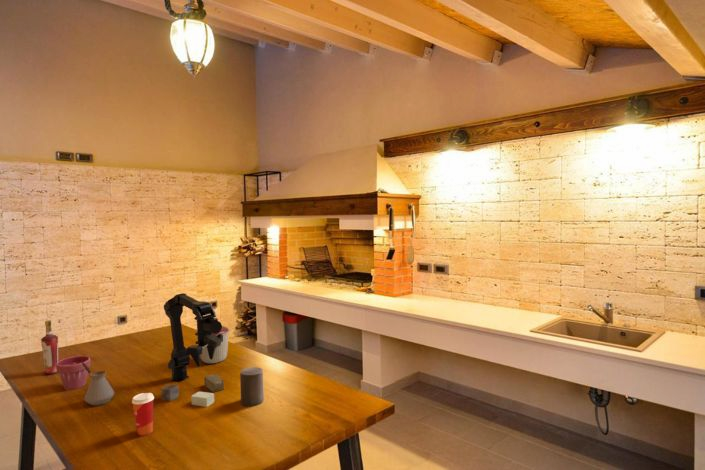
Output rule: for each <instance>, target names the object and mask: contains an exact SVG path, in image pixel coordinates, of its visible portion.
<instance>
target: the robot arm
mask: <svg viewBox="0 0 705 470" xmlns="http://www.w3.org/2000/svg"><path fill="white" fill-rule="evenodd" d="M184 307H185V308H188V309H190V310H191V311H192V314H193V315H195V316H194V320H195V321H196V332H197V333H196V332H195V334H194V335H195V336H196V335H197V336H196V339H197V338H198V339H197V340H196V341H195V344H192V345H190V346H189V345H188V346H187V347H186V346H185V344H184V343H185V342H184V335H183V333H184V332H183V327H182V321H181V316H182V314H183V312H184ZM163 310H164V314H165V315H166V316H167V318H168V319H169V324H170V331H171V339H172V345H173V346H172V347H173V349H172V350H171V353H170V359H169V361H168V363H167V366H168V367H167V368H168V369H169V370H171V378H169V381H173V382H183V381H184V380H186V379H188V378H189V377H190V376H189V375H188V373H187V366H190V361H191V359H193V361H194V363H195V364H196V367H198V368H199V367H201V354H202V348H203V347H205V346H207V350H208V354H209V357H210V359H211V360H212V359H213V356H214V352H215V349H216V348H217V347H218V346H220V345H221V342H223V335H222V334H218V335H213V333H214V334H217V333H219V332H220V331H221V329H222V326H223V325H222V323H221V322H220V321H219V319H218V318H217V315H216V312H215V309H214V308H213V306H212V304H211V303H210V302H209V301H203V300H201V301H200V300H197V299H196V298H193V297H192V296H190V295H187V294H186V293H178V294H175V295H174V296H173V297H172V298H170V299H168V300H167V301H165V303H164V304H163Z"/></svg>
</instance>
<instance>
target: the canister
mask: <svg viewBox="0 0 705 470" xmlns="http://www.w3.org/2000/svg"><path fill="white" fill-rule="evenodd" d="M230 330H231V329H230V328H229V327H226V326H224V325H222V329H221V331H220V332H219V333H217V334H214V333H213V335H218V334H222V335H223V342H221V345H220V346H218V347H217V348H216V349H215V352H214V356H213V359H212V360H211V359H210V357H209V354H208V350H207V346H205V347H203V348H202V354H201V356H200V360H202V362H203V363H205V364H219V363H221V362H224V360H226V358H227V356H228V348H229V332H230ZM195 333H197V331H196V332H195ZM195 336H196V339H197V340H198V338H197V335H195Z"/></svg>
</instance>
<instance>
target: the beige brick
mask: <svg viewBox="0 0 705 470" xmlns="http://www.w3.org/2000/svg"><path fill="white" fill-rule="evenodd" d="M190 397H191V400H190V401H191V405H192V406H199V407H205V408H207V407H209V406H211V405H212V404H214V403H215V392H207V391H205V392H204V391H197V392H195V393H193V394H192V395H190Z"/></svg>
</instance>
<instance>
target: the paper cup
mask: <svg viewBox="0 0 705 470" xmlns="http://www.w3.org/2000/svg"><path fill="white" fill-rule="evenodd" d="M154 399H155V396H154V394H153V393H152V392H145V393H144V392H143V393H138V394H136V395H134V396H133V397H132V400H131V404H132V407H133V415H134V421H135V422H134V423H135V430H136V435H137V436H140V437H141V436H147V435H151V434H152V433H153V431H154Z"/></svg>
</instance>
